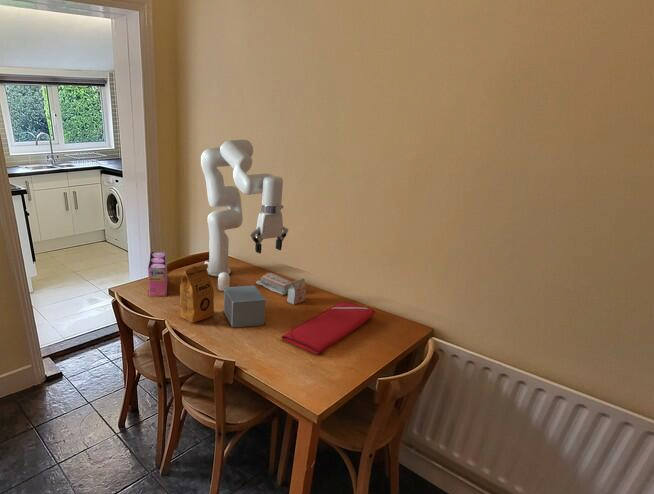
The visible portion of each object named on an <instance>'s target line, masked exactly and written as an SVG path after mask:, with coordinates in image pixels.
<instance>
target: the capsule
mask: <svg viewBox="0 0 654 494" xmlns="http://www.w3.org/2000/svg"><path fill="white" fill-rule="evenodd" d="M230 280H231V278H230V274H229V275H228V274H227V273H226V272H222V273H220V274H219V276H218V277H217V290H218V291H221V292H224V288H225V287H230V283H231V282H230Z"/></svg>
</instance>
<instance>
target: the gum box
mask: <svg viewBox="0 0 654 494" xmlns="http://www.w3.org/2000/svg"><path fill="white" fill-rule="evenodd" d="M147 274H148V292H149V297H165V296H167V294H168V280H169V279H168V277H169V276H168V259H167V251H163V252H154V251H150V254H149V261H148V267H147Z"/></svg>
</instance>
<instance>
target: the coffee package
mask: <svg viewBox="0 0 654 494" xmlns="http://www.w3.org/2000/svg"><path fill="white" fill-rule="evenodd" d="M207 269H208V264H207V263H206V264H204V263H203V264H199V265H193V266H191V267H189V268H185V269H184V272H183V274H182V277H181V280H180V286H179V297H180V299H179V300H180V304H179V305H180V318H181V319H183V320H186V321H187V322H189V323H193V324H194V323H197V322H199V321H202V320H206V319H208V318H211V317H214V314H215V303H214V300H215V292H214V285H213V283H212V280H211V278H210V275H209V274H208V271H207Z"/></svg>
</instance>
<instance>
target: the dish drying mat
mask: <svg viewBox="0 0 654 494" xmlns="http://www.w3.org/2000/svg"><path fill="white" fill-rule="evenodd" d="M376 313H377V311H376V310H374V309H373V308H369V307H367V306H364V305H361V304H358V303H355V302H349V301H348V302H347V301H341V302H338V303H336V304H333V306H331V307H329V308H328V309H326V310H324V311H322V312H320V313H318V314H317V315H315V316H313V317H311V318H310V319H307V320H306V321H304V322H302V323H300V324H298V325H296V326H294V327H293V328H291V329H290V331H288V332H286V333H284V334H283V335H281V339H282V341H284V342H286V343H288V344H290V345H292V346H295V347H298V348H300V349H303V350H305V351H307V352H309V353H311V354H314V355H320V354H321V353H322V352H324V351H325V350H327V349H329V348H331V346H333V345H334V344H336V343H337V342H340V341H341V340H342V339H344V338H345V337H346V336H348V335H349V334H351V333H352V332H354V331H355V330H356V329H358V328H359V327H361V326H362V325H364V323H366V322H367V321H369V320H370V319H371V318H372V317H373V316H374V315H376Z"/></svg>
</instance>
